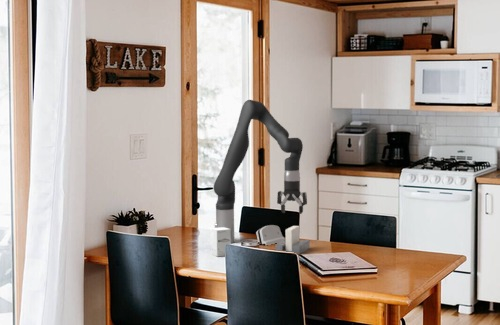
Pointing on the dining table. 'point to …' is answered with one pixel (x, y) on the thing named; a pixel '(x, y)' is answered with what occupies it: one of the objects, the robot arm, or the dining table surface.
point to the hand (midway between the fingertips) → (292, 213)
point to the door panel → (292, 237)
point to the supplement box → (219, 240)
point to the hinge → (269, 235)
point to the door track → (294, 246)
